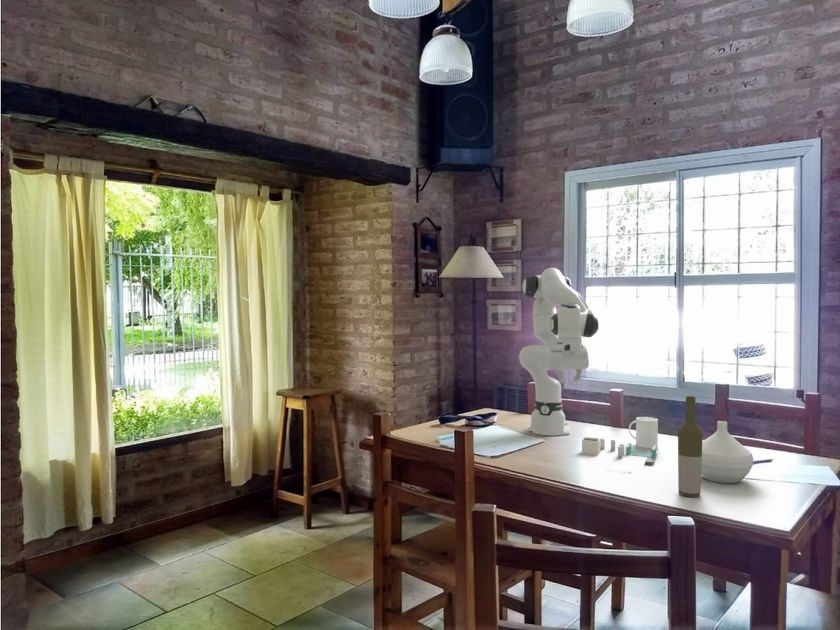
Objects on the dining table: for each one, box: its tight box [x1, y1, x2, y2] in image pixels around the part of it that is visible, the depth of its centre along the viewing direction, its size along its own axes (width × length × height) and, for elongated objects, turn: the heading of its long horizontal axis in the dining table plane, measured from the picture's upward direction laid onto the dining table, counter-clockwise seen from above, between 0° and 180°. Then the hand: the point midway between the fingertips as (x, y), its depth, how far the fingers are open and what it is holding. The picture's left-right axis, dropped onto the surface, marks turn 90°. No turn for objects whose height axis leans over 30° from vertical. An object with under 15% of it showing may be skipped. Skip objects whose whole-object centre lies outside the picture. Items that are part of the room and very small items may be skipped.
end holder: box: [625, 442, 657, 458], centre depth 233 cm, size 7×10×3 cm
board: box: [581, 438, 658, 466], centre depth 234 cm, size 15×26×5 cm, turn 65°
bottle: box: [677, 396, 704, 498], centre depth 188 cm, size 7×7×30 cm
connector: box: [581, 436, 601, 456], centre depth 235 cm, size 4×6×5 cm, turn 64°
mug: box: [628, 416, 659, 452], centre depth 247 cm, size 12×8×12 cm
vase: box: [701, 420, 754, 484], centre depth 204 cm, size 18×18×19 cm
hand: (569, 381), depth 238 cm, fingers open, 8 cm apart
